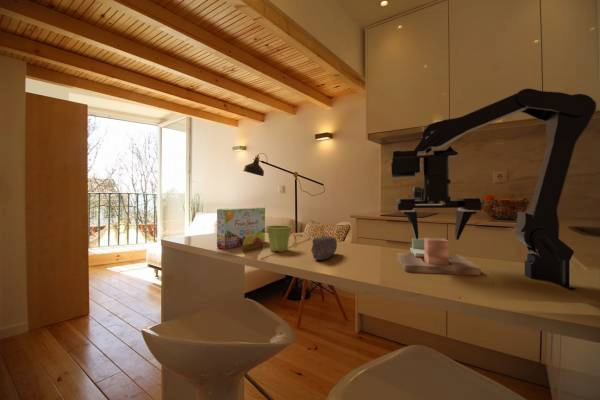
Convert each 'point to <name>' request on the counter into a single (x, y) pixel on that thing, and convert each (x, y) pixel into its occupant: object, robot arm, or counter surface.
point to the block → (436, 251)
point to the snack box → (240, 226)
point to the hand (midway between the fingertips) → (436, 239)
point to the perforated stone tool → (323, 247)
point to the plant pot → (278, 237)
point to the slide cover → (417, 247)
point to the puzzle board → (455, 265)
